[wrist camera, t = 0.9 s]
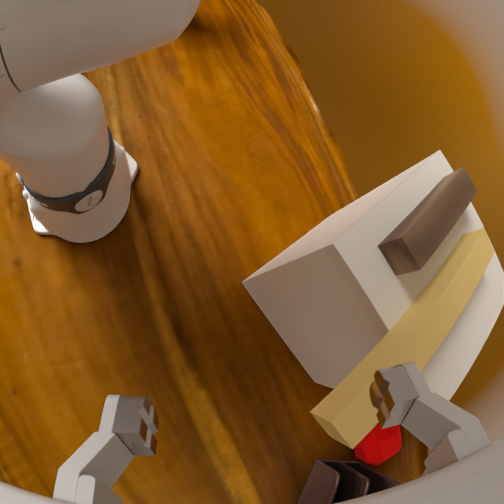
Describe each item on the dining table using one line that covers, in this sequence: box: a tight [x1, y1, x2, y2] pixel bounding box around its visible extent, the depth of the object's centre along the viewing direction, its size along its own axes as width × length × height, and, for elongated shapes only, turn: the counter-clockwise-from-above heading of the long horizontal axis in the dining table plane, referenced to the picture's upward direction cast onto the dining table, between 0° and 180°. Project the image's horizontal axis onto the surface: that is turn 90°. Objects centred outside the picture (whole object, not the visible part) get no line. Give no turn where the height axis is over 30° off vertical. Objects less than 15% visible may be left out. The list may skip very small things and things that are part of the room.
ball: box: [354, 422, 402, 465], centre depth 45 cm, size 8×8×8 cm
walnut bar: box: [378, 167, 477, 275], centre depth 26 cm, size 3×14×3 cm, turn 127°
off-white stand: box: [241, 150, 504, 401], centre depth 39 cm, size 20×20×26 cm
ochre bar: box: [310, 228, 495, 449], centre depth 23 cm, size 3×24×3 cm, turn 128°
